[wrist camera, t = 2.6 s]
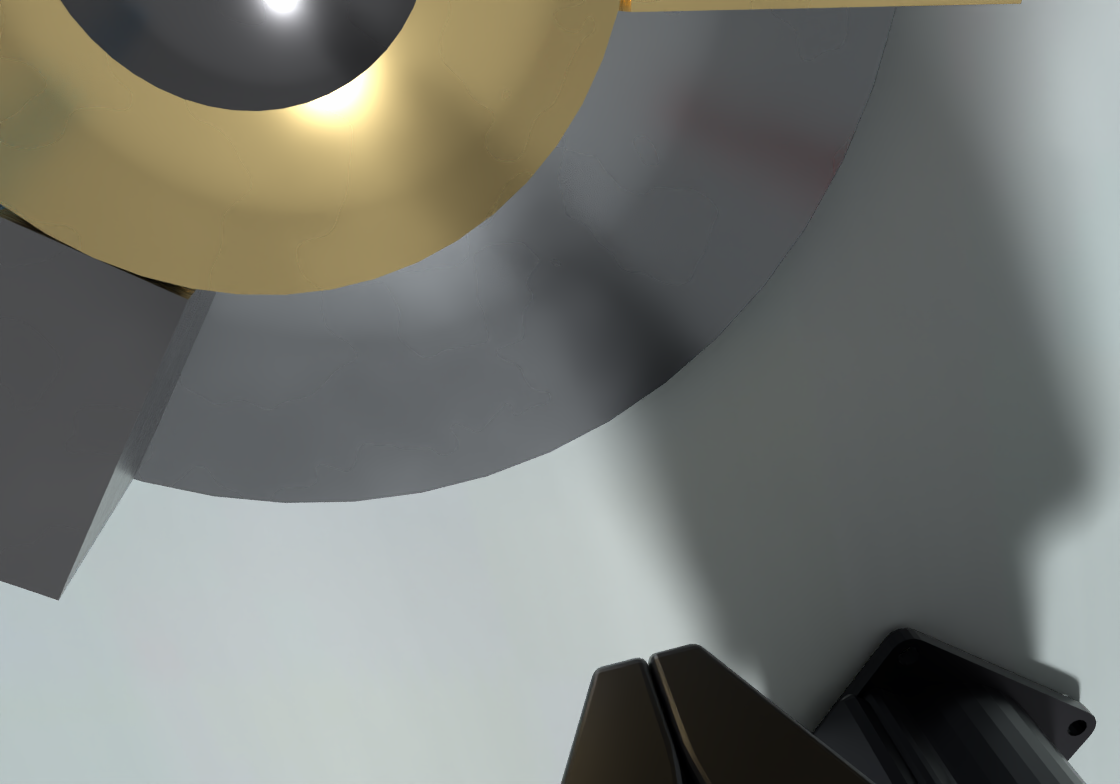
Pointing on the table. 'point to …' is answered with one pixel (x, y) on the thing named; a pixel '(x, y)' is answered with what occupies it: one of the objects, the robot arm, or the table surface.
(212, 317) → the flange plate
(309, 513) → the table surface
